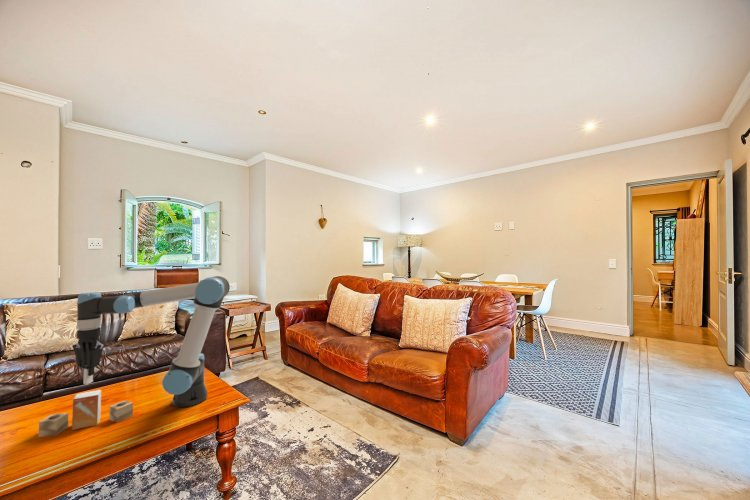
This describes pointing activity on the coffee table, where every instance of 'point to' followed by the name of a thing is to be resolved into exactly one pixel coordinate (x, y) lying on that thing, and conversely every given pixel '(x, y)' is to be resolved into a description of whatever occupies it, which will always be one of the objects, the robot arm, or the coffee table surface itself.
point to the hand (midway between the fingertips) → (88, 382)
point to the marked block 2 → (121, 411)
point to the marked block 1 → (53, 424)
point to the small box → (86, 409)
